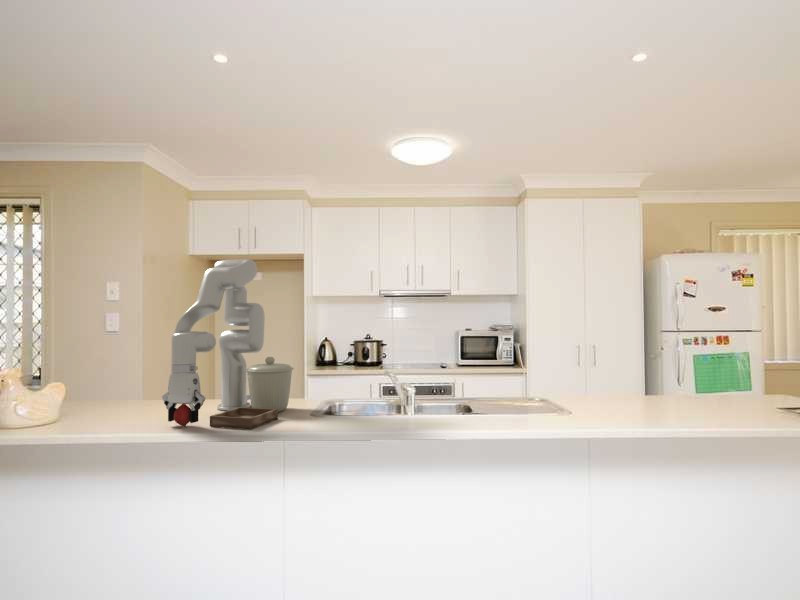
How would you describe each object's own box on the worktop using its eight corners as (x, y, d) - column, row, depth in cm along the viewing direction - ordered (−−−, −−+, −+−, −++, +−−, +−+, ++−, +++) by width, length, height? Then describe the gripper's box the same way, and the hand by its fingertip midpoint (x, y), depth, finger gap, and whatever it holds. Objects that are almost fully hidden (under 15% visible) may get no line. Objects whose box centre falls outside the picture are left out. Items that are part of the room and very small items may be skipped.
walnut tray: (239, 416, 169) (239, 407, 169) (277, 419, 164) (277, 409, 164) (209, 426, 153) (209, 416, 153) (250, 429, 149) (251, 418, 149)
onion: (175, 429, 150) (175, 404, 150) (172, 426, 155) (172, 402, 155) (194, 426, 153) (194, 402, 154) (190, 423, 158) (190, 400, 158)
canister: (242, 409, 183) (243, 356, 184) (288, 405, 191) (288, 354, 191) (248, 417, 167) (248, 359, 167) (298, 413, 174) (298, 357, 175)
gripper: (212, 368, 156) (212, 420, 155) (171, 367, 161) (170, 417, 160) (197, 371, 149) (196, 425, 148) (154, 369, 154) (153, 422, 153)
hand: (183, 421), depth 154 cm, fingers open, 8 cm apart
